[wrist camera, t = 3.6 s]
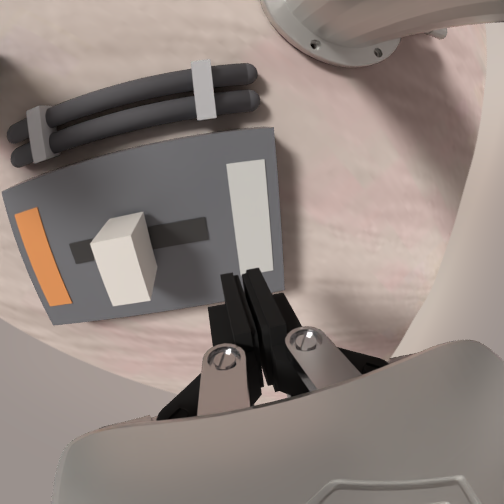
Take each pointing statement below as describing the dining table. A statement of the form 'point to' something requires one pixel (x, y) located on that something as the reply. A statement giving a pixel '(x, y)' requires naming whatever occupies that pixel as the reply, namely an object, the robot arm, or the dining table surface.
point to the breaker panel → (154, 221)
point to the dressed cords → (133, 109)
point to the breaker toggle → (125, 259)
